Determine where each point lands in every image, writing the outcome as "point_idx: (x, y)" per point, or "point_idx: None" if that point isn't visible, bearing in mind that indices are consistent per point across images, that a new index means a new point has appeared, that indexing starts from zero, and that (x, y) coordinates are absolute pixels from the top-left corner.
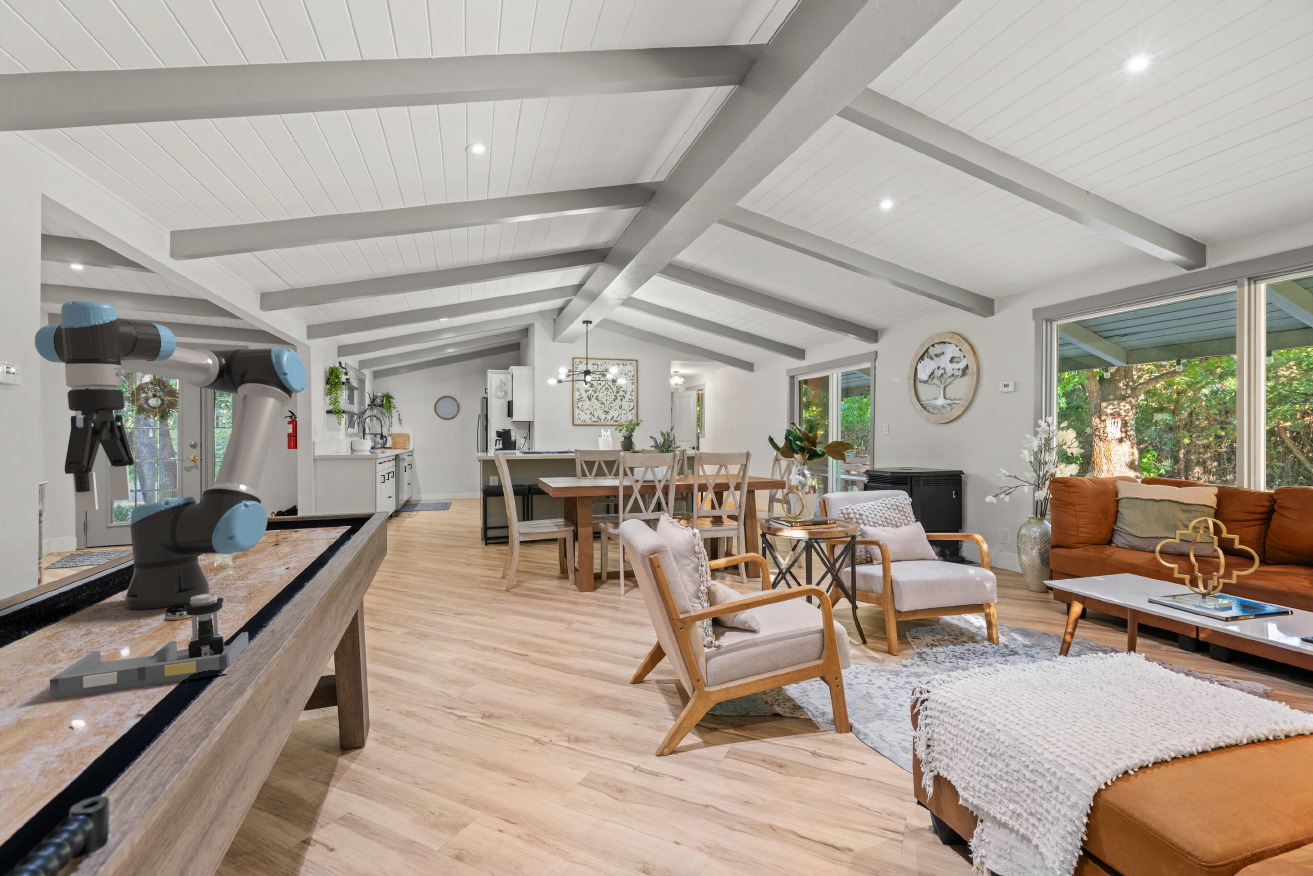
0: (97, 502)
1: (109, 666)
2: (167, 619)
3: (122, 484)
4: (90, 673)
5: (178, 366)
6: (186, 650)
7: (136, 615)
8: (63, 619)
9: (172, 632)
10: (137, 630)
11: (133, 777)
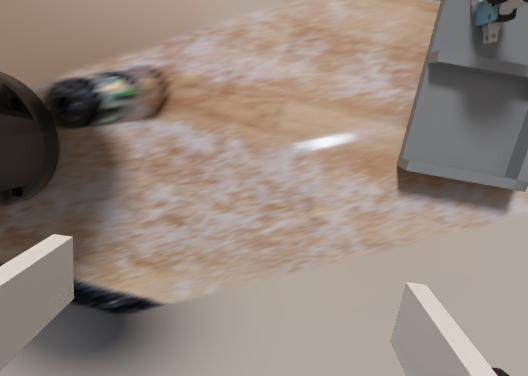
0: (417, 300)
1: (435, 141)
2: (150, 114)
3: (15, 300)
4: None
5: None
6: (497, 26)
7: (90, 172)
8: None
9: (251, 90)
10: (200, 150)
11: None
